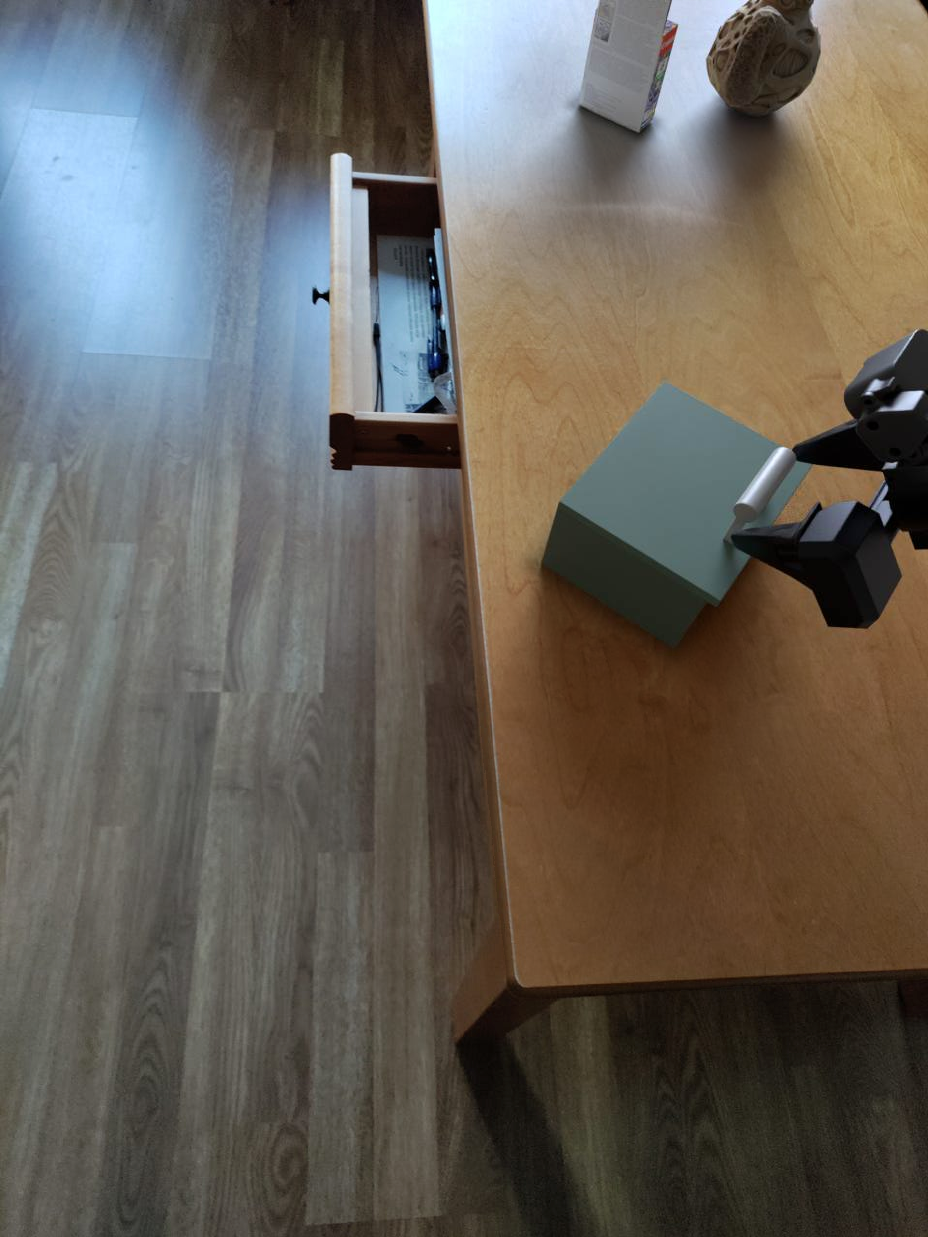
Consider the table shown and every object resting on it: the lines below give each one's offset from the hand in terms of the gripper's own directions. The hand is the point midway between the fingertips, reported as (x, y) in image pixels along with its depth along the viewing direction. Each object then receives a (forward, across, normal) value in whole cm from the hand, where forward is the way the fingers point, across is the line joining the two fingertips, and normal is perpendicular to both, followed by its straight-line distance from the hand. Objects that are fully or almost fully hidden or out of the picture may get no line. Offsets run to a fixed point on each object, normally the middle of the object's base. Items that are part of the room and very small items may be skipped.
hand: (765, 495), depth 56 cm
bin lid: (+6, 0, -1) cm, 6 cm away
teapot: (+26, -59, -12) cm, 65 cm away
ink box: (+34, -47, -19) cm, 61 cm away
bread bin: (+11, 0, +4) cm, 11 cm away
